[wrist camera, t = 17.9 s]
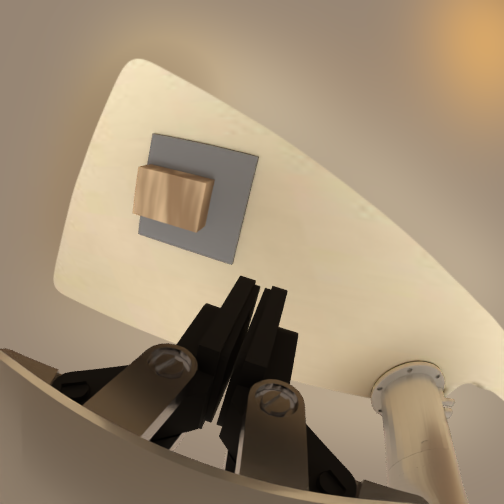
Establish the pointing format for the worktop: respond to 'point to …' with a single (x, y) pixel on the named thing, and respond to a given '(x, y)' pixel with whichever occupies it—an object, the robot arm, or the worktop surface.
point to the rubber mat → (222, 199)
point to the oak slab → (172, 197)
